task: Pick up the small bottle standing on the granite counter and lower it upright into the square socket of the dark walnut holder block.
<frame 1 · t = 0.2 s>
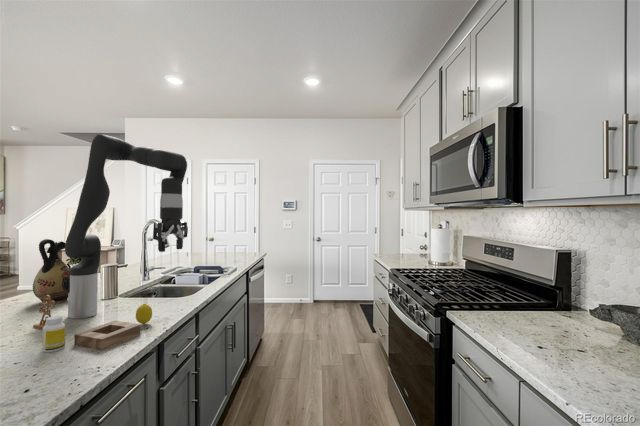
hand: (170, 250, 116), 29 cm above the countertop, tool pointing down, fingers open, 8 cm apart
supplement bottle: (53, 349, 98), on the countertop
holder block: (108, 339, 106), on the countertop
ceramic jug: (52, 302, 149), on the countertop
lemon: (143, 325, 120), on the countertop
brown figurine: (46, 327, 116), on the countertop
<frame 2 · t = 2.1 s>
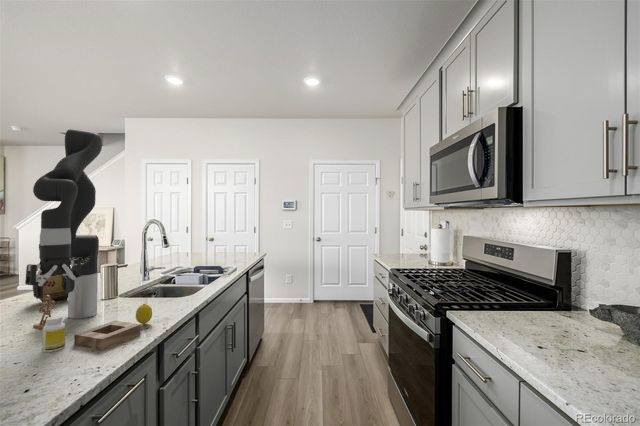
hand: (54, 295, 98), 17 cm above the countertop, tool pointing down, fingers open, 8 cm apart
nothing on the countertop moved.
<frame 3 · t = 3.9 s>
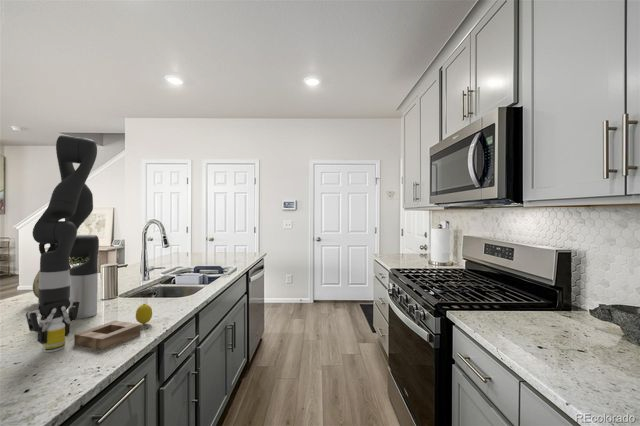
hand: (53, 339, 98), 3 cm above the countertop, tool pointing down, fingers closed on supplement bottle, 5 cm apart
supplement bottle: (53, 349, 98), on the countertop, touching gripper
everything else where it was.
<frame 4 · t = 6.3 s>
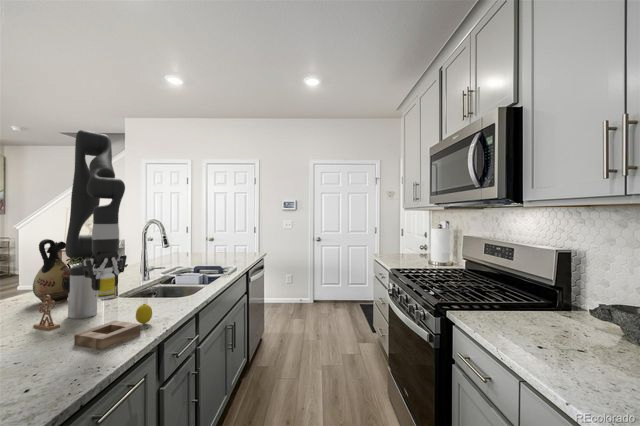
hand: (105, 288, 105), 17 cm above the countertop, tool pointing down, fingers closed on supplement bottle, 5 cm apart
supplement bottle: (105, 297, 105), point 14 cm above the countertop, touching gripper
everything else where it was.
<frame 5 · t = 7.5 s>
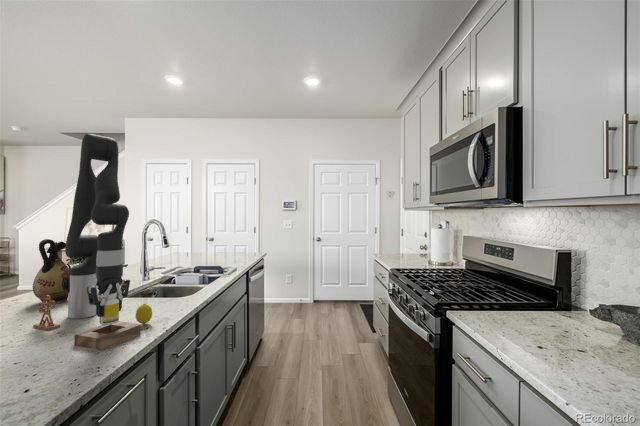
hand: (109, 313, 106), 9 cm above the countertop, tool pointing down, fingers closed on supplement bottle, 5 cm apart
supplement bottle: (109, 323, 106), point 5 cm above the countertop, touching gripper
everything else where it was.
when the fingers open (5 cm above the countertop, at t = 8.6 s): supplement bottle drops 2 cm, resting on holder block.
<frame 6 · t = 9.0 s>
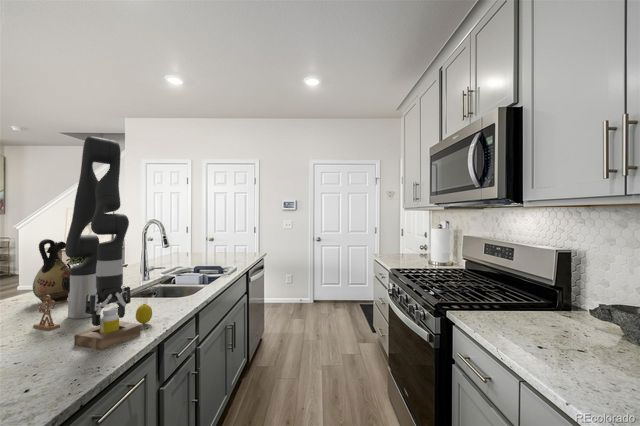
hand: (109, 321, 106), 6 cm above the countertop, tool pointing down, fingers open, 8 cm apart
supplement bottle: (109, 339, 106), resting on holder block
everything else where it was.
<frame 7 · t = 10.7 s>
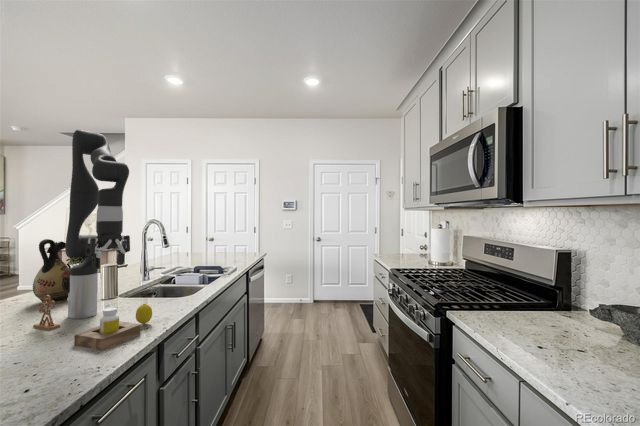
hand: (108, 266, 108), 24 cm above the countertop, tool pointing down, fingers open, 8 cm apart
nothing on the countertop moved.
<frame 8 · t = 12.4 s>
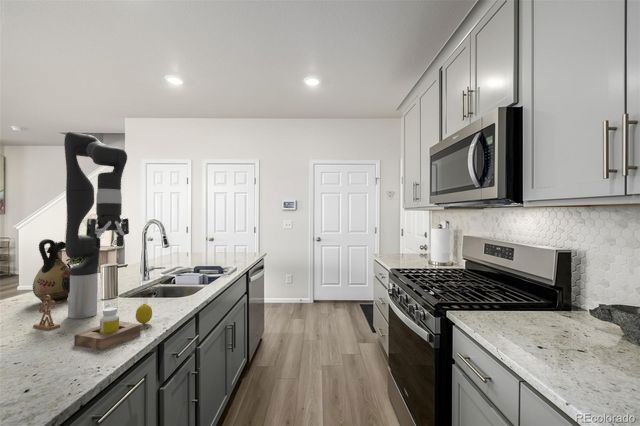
hand: (108, 247, 113), 30 cm above the countertop, tool pointing down, fingers open, 8 cm apart
nothing on the countertop moved.
at the end: supplement bottle 0.3 cm off-centre on the holder block, point 0.1 cm above the holder block's base; supplement bottle tilted 0°; the gripper is holding nothing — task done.
